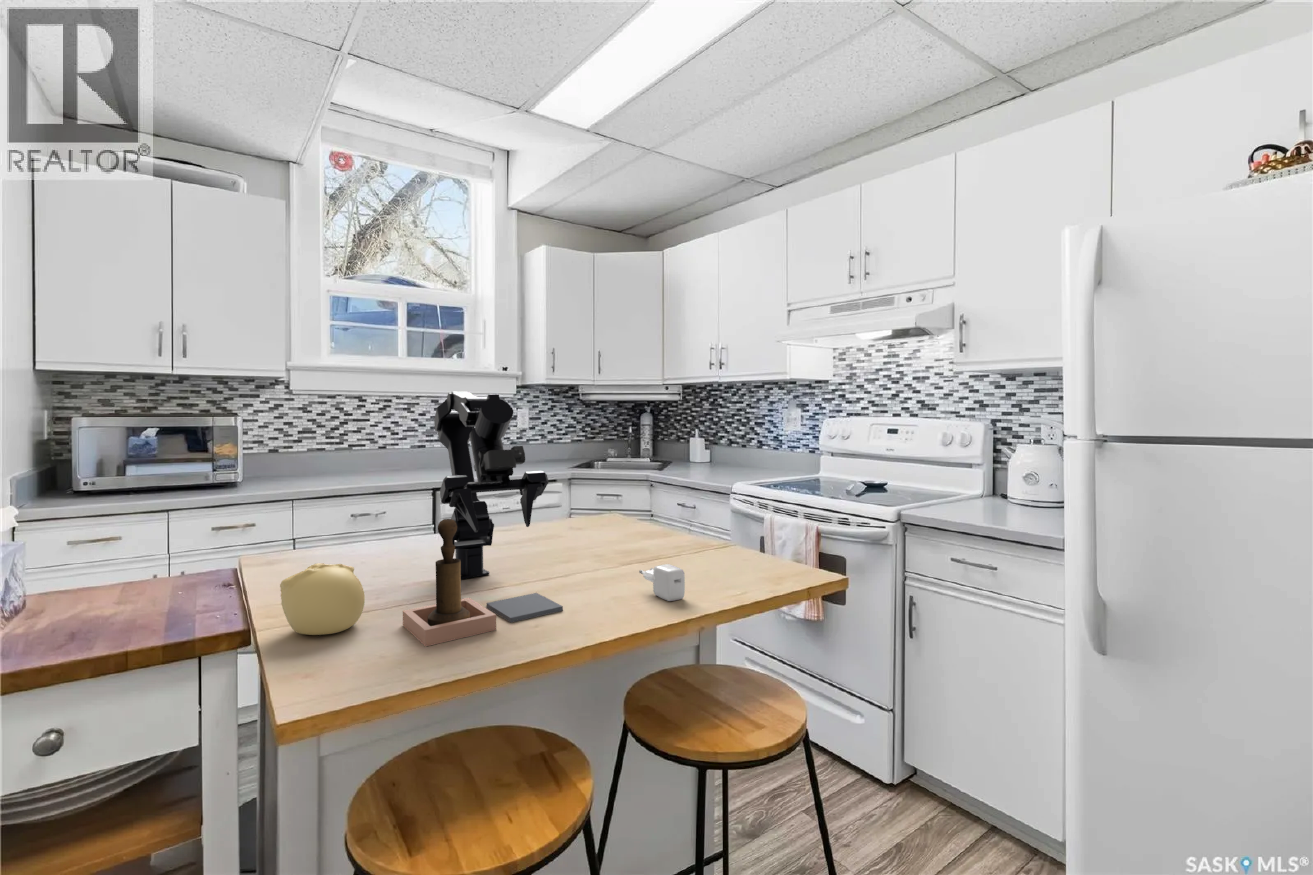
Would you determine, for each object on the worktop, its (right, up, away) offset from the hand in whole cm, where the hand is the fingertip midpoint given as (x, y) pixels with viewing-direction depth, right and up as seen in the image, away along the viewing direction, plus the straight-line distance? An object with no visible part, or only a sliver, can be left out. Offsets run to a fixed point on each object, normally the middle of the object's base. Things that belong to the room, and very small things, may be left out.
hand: (503, 528), depth 112 cm
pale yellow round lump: (-27, -15, -9) cm, 32 cm away
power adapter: (+28, -14, +10) cm, 33 cm away
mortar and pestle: (-7, -15, -8) cm, 19 cm away
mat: (+4, -15, +1) cm, 15 cm away
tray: (-7, -15, -8) cm, 19 cm away
